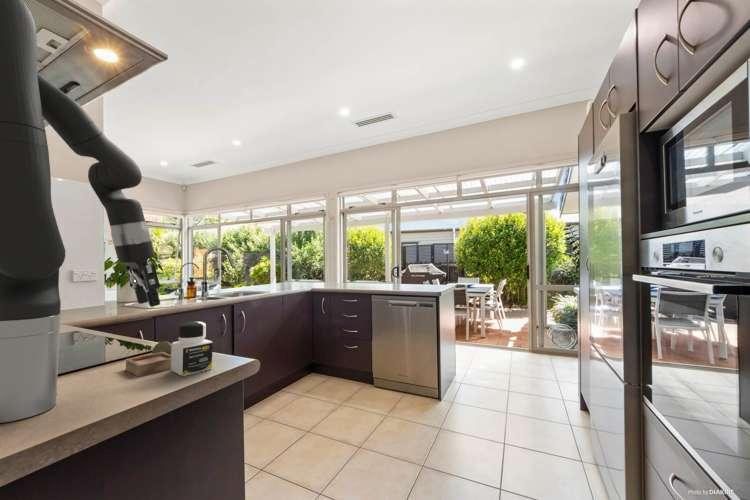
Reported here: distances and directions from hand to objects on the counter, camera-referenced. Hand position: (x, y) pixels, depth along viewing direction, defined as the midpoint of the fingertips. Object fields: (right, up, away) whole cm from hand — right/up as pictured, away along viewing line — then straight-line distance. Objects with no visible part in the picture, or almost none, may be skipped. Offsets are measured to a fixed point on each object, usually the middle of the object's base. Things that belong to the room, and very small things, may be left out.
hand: (149, 304), depth 82 cm
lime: (-3, -17, +9) cm, 20 cm away
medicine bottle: (+11, -17, 0) cm, 20 cm away
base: (0, -17, +1) cm, 17 cm away
